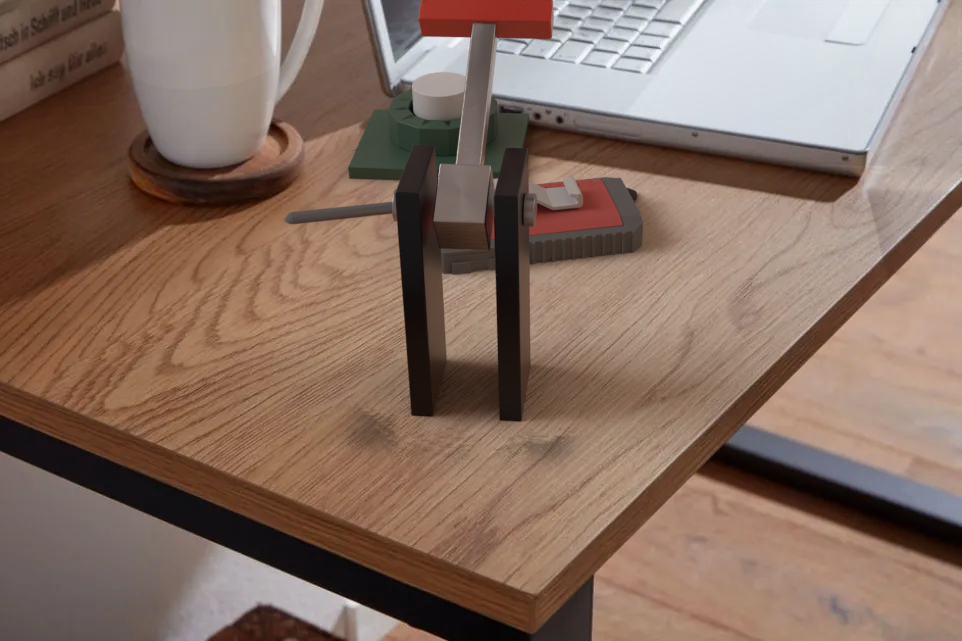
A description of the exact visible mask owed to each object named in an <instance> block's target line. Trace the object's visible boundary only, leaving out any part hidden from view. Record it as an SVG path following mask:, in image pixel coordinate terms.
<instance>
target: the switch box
mask: <svg viewBox="0 0 962 641" xmlns="http://www.w3.org/2000/svg"><path fill="white" fill-rule="evenodd" d="M460 122H461V118H457V119H452V120H427V119H423V118H420V117H417V116H415V114H414V111H413V95H412V88H410V89H407V90H406V91H404V92H402V93H400V94H399V95H396V96H394V97H393V98H392V100H391V102H390V104H389V107H388V109H373V110H372V113H371V115H370V117H369V119H368V121H367V124H366V126H365V128H364V131H363V133H362V135H361V137H360V140H359V142H358V144H357V146H356V149H355V152H353V156H352V158H351V160H350V162H349V164H348V167H347V171H348V178H349V179H350V180H373V181H400V179H401V176H402V173H403V171H404V168H405V165H406V163H407V160H408V157H409V154H410V152H411V149H412V146H413V145H434V146H435V149H436V168H437V180H438V172H439V165H440V164H456V155H457V147H458V139H459V130H460ZM529 126H530V114H529V113H517V112H516V113H511V112H498V100H497V99H496V98H494V97H493V95H491V104H490V114H489V123H488V132H487V141H486V150H485V159H484V165H490V166H491V167H492V174H493V179H498V176H499V172H500V168H501V164H502V160H503V155H504V151H505V148H507V147H508V148H525V144H526V139H527V134H528V130H529Z"/></svg>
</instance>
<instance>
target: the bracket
mask: <svg viewBox="0 0 962 641" xmlns="http://www.w3.org/2000/svg"><path fill="white" fill-rule="evenodd" d="M529 171H530V170H529V148H528V147H524V148H508V147H507V148H505V151H504V155H503V160H502V164H501V168H500V172H499V176H498V180H497V184H496V188H495V193H494V197H493V200H494V237H495V270H494V272H495V303H496V304H495V305H496V306H495V307H496V308H495V309H496V311H495V312H496V343H497V344H496V345H497V349H496V350H497V379H498V380H497V382H498V383H497V384H498V386H497V387H498V419H499V421H501V422H515V423H516V422H522V421H523V415H524V408H525V404H526V403H525V402H526V397H527V396H526V395H527V390H528V382H529V377H530V371H531V288H530V287H531V281H530V279H531V278H530V277H531V276H530V268H531V266H530V263H529V227H534V226H535V225H536V218H537V195H536V193H529V181H530V179H529V176H530V174H529V173H530V172H529ZM436 188H437V168H436V149H435V146H434V145H413V146H412V149H411V152H410V154H409V157H408V160H407V163H406V165H405V168H404V171H403V173H402V176H401V179H400V180H398V185H397V187H396V188H395V189H394V190H393V193H392V200H391V202H392V219H393V221H394V222H395V223H396V227H397V240H398V252H399V267H400V282H401V294H402V308H403V321H404V323H403V324H404V336H405V348H406V362H407V376H408V389H409V404H410V414H411V416H412V417H424V418H425V417H426V418H432V417H434V414H435V411H436V405H437V402H438V398H439V394H440V390H441V385H442V382H443V377H444V374H445V370H446V365H447V362H448V359H447V357H448V356H447V339H446V322H445V319H446V318H445V302H444V301H445V300H444V284H443V283H444V281H443V273H442V262H441V249H440V248H439V246H438V242H437V237H436V233H435V229H434V225H433V212H434V204H435V196H436Z"/></svg>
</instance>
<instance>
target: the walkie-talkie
mask: <svg viewBox="0 0 962 641" xmlns="http://www.w3.org/2000/svg"><path fill="white" fill-rule="evenodd" d="M497 180H498V179H493V181H494V188H496V184H497ZM529 193H536V195H537V218H536V225H535V226H534V227H529V264H532V265H535V264H536V263H542V264H544V263H546V262H552V263H553V262H556V261H562V262H564V261H566V260H569V259H570V260H576V259H586V258H590V257H591V258H596V257H598V256H601V257H605V256H608V255H611V256H616V255H617V254H621V255H625V254H626V253H632V254H634V252H636V251H637V250H638V249H639V248H641V247H642V246H643V232H644V222H643V221H644V220H643V217H642V214H641V212H640V210H639V208H638V206H637V205H636V203H635V202H636V201H637V200H638V193H637V191H636V190H635V189H632V188H630V187H627V186H626V184H625V183H624V181H623V178H622V177H609V176H603V177H602V176H601V177H592V178H583V179H575V177H574V176H568V177H565V178H563V180H562V181H555V182H546V183H537V184H536V183H535V182H533V181H531V180H529ZM390 214H392V201H386V202H385V201H384V202H376V203H375V202H374V203H366V204H365V203H364V204H356V205H345V206H337V207H328V208H327V207H326V208H318V209H317V208H316V209H307V210H298V211H291V212H289V213H288V214H286V216H285V219H284V220H285V222H286V223H285V224H289V225H298V224H307V223H316V222H317V223H318V222H327V221H335V220H336V221H337V220H345V219H353V218H363V217H371V216H381V215H390ZM441 262H442V275H443V274H444V275H446V274H452V276H454V275H463V274H471V273H472V272H475V271H484V270H485V271H486V270H489V271H495V237H494V216H493V226H492V236H491V245H490V250H489V251H484V250H459V249H441Z"/></svg>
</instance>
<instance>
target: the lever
mask: <svg viewBox="0 0 962 641" xmlns="http://www.w3.org/2000/svg"><path fill="white" fill-rule="evenodd" d="M554 12H555V11H554V0H420V4H419V11H418V18H417V19H418V24H419V29H420V34H421V37H426V38H468V39H469V38H470V39H469V49H468V57H467V63H466V64H467V65H466V73H465V76H466V80H465V89H464V97H463V105H462V114H461V122H460V130H459V139H458V147H457V155H456V164H440V165H439V172H438V180H437V188H436V196H435V204H434V212H433V225H434V229H435V233H436V237H437V242H438V246H439V248H440V249H459V250H484V251H489V250H490V245H491V236H492V226H493V216H494V200H493V197H494V193H495V188H494V181H493V174H492V167H491V166H490V165H484V159H485V150H486V141H487V132H488V123H489V114H490V104H491V96H493V95H492V94H493V84H494V75H495V66H496V58H497V49H498V39H516V40H517V39H521V40H522V39H525V40H552V38H553V31H554V20H555V15H554V14H555V13H554Z"/></svg>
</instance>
